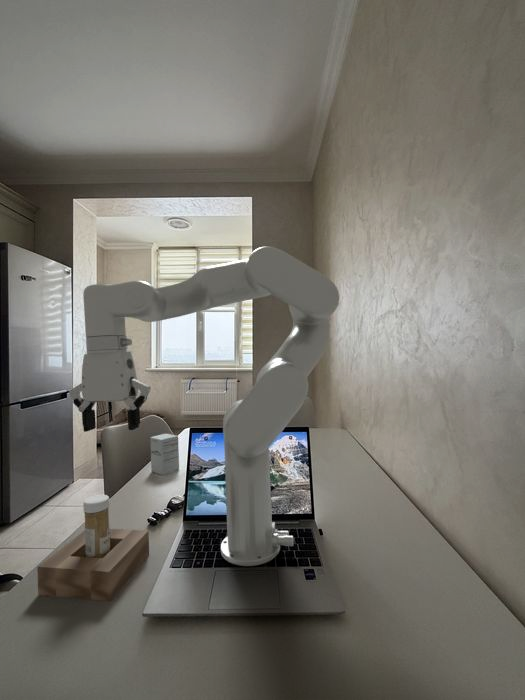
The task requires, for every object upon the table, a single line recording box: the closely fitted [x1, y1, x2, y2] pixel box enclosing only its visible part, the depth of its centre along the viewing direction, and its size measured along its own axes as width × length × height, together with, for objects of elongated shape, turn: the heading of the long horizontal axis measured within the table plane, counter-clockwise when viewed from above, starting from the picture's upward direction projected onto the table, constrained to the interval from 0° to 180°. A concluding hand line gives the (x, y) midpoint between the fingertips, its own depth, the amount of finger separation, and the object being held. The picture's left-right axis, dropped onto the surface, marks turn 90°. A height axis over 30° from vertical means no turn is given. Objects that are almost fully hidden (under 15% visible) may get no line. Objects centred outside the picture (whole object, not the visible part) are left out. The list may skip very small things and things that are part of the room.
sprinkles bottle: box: [83, 494, 110, 558], centre depth 69 cm, size 5×5×13 cm
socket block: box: [36, 528, 150, 602], centre depth 69 cm, size 14×14×5 cm
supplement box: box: [150, 433, 180, 476], centre depth 128 cm, size 7×7×13 cm
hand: (111, 429), depth 72 cm, fingers open, 9 cm apart
